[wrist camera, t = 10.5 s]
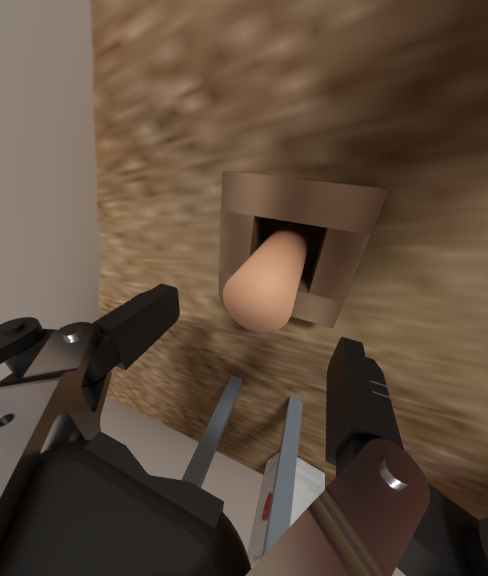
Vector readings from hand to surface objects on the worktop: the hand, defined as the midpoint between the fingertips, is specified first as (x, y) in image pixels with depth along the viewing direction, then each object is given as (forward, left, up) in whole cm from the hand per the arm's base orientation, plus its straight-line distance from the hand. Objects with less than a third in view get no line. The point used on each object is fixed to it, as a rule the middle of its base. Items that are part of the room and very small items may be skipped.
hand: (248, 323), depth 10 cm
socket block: (0, 0, -14) cm, 14 cm away
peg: (0, 0, -14) cm, 14 cm away
